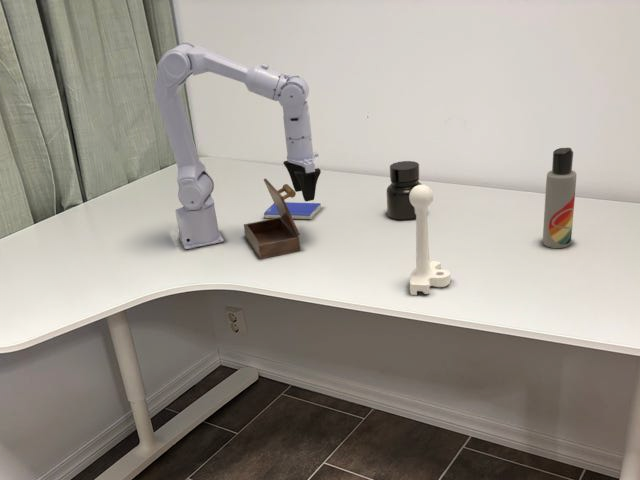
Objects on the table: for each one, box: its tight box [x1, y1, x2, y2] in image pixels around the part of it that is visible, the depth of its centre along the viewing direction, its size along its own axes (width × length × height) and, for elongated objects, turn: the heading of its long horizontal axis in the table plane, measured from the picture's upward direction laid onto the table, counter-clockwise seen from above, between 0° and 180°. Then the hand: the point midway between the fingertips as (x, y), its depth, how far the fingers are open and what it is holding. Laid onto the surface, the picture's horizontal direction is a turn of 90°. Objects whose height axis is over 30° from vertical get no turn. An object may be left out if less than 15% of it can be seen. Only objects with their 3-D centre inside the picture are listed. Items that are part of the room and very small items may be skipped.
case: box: [243, 217, 301, 260], centre depth 180 cm, size 9×15×3 cm, turn 16°
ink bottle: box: [386, 160, 423, 221], centre depth 185 cm, size 10×9×12 cm
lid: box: [263, 178, 301, 237], centre depth 177 cm, size 10×15×4 cm
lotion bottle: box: [542, 147, 577, 249], centre depth 159 cm, size 6×6×20 cm
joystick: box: [409, 184, 451, 296], centre depth 149 cm, size 11×8×20 cm
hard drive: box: [263, 201, 322, 220], centre depth 197 cm, size 2×8×12 cm
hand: (304, 195), depth 177 cm, fingers open, 7 cm apart
